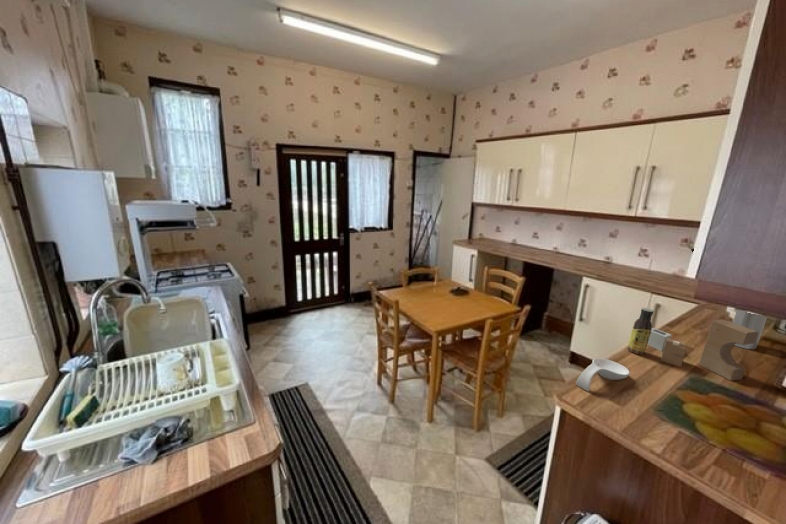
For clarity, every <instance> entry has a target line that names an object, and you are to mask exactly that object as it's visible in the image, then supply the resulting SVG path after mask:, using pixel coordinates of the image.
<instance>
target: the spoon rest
mask: <svg viewBox="0 0 786 524" xmlns="http://www.w3.org/2000/svg"><path fill="white" fill-rule="evenodd" d="M598 364H599V365H598ZM597 373H598V374H599V375H600V376H601V377H602V378H605V379H608V380H611V381H617V380H624V379H626V378H627V377H628V376H630V374H631V371H629V369H628V368H627V367H625V366H624V365H622V364H620V363H618V362H616V361H614V360H611V359H607V358H594V359H593V358H592V362H591V364H590V365H588V366H587V367H586V368H585V369H584V370H583V371H582V372H581V374H580V375H578V377H577V380H576V382H575V386H578V387H579V388H581V389H583V391H587V392H590V389H591V384H592V383H591V382H592V379H593V377H594V376H595V375H596V374H597Z"/></svg>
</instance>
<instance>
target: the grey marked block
mask: <svg viewBox="0 0 786 524" xmlns="http://www.w3.org/2000/svg"><path fill="white" fill-rule="evenodd" d="M666 339H671V340H672V334H670V333H669V332H665V331H663V330H660V329H658V328H655V327H652V331H651V334H650V337H649V340H648V345H650V346H649V347H651V346H652V347H651V348H653V347H654V348H653V349H655V348H656V349H655V350H657V349H658V351H660V352H663V349H664V346H665V342H666ZM648 345H647V346H648Z"/></svg>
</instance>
